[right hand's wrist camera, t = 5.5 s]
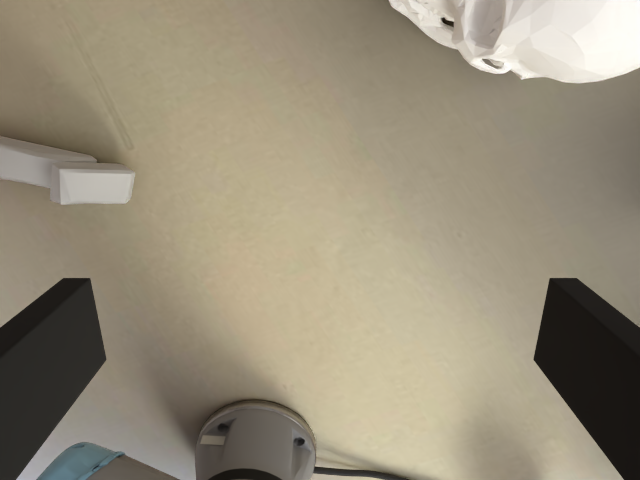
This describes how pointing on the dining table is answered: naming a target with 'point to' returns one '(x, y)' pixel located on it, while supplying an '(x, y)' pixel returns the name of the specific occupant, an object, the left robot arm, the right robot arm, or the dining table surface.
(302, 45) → the dining table surface
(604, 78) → the skull
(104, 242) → the dining table surface
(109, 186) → the white segmented bar
